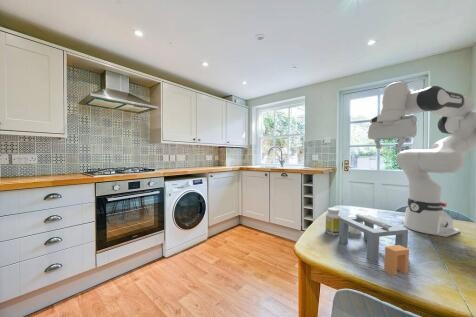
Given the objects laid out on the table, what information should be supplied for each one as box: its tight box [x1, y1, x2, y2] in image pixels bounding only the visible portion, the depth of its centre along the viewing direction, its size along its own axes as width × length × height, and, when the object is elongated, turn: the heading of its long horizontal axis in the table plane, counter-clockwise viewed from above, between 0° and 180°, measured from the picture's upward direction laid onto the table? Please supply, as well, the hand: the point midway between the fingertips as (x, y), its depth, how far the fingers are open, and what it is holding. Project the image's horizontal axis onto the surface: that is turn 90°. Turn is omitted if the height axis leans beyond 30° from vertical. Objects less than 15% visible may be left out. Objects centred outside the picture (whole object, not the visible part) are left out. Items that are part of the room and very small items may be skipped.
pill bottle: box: [325, 207, 342, 236], centre depth 92 cm, size 6×6×11 cm
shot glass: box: [346, 214, 364, 235], centre depth 94 cm, size 7×7×7 cm
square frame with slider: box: [338, 213, 409, 263], centre depth 77 cm, size 15×16×12 cm
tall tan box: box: [383, 244, 410, 276], centre depth 63 cm, size 6×3×8 cm, turn 103°
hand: (387, 148), depth 91 cm, fingers open, 8 cm apart
